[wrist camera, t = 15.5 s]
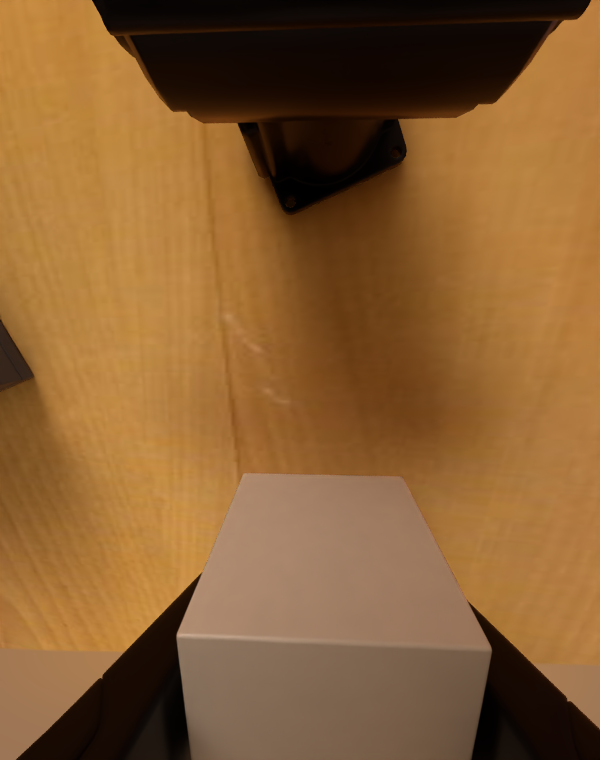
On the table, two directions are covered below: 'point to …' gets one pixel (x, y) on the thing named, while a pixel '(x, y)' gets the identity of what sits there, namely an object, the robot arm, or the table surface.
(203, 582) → the block
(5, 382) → the cabinet
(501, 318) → the table surface
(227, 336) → the table surface
